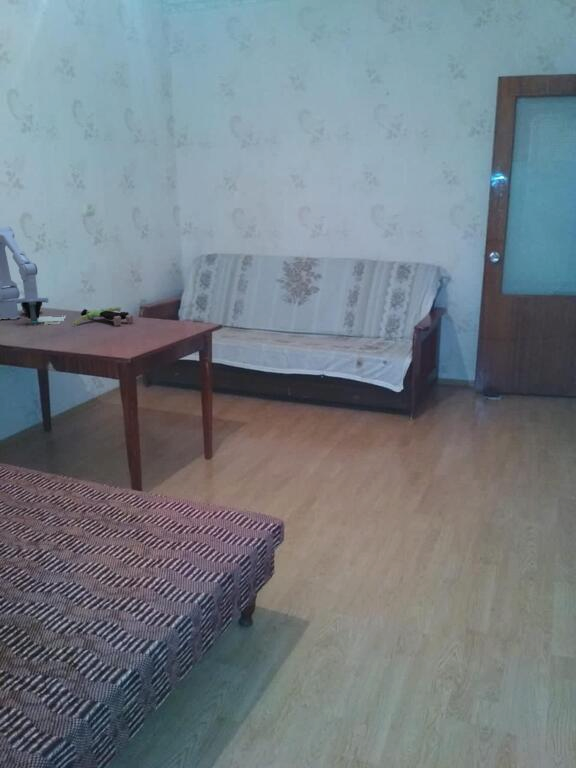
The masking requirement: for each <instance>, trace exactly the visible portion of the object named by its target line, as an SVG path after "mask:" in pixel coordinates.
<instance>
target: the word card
mask: <svg viewBox="0 0 576 768" xmlns="http://www.w3.org/2000/svg"><path fill="white" fill-rule="evenodd" d="M43 323H44V324H43V325H44V326H45V325H46V326H48V324H52V325H60V324H61V321H59V322H43Z"/></svg>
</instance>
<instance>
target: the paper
mask: <svg viewBox="0 0 576 768" xmlns="http://www.w3.org/2000/svg"><path fill="white" fill-rule="evenodd" d="M61 316H62V317H52V315H50V316H49V315H48V316H39V318H38V323H45V322H53V321H60V322H65V320H64V319H66V317H67V315H61ZM63 316H64V317H63Z"/></svg>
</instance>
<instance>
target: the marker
mask: <svg viewBox="0 0 576 768" xmlns="http://www.w3.org/2000/svg"><path fill="white" fill-rule="evenodd" d="M29 312H30V325H31V324H37V325H39V322H38V318H37V310H36V305H35V304H29Z"/></svg>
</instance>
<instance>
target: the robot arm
mask: <svg viewBox="0 0 576 768" xmlns="http://www.w3.org/2000/svg"><path fill="white" fill-rule="evenodd" d="M6 247H7V248H8V250H10V252H11V253H12V259H13V260H14V262H15V263H16V266H18V273H19V275H20V278H21V281H22V284H23V291H24V292H23V294H24V298H20V296H21V291H20V289H19V287H18V284H17V282H15V281H14V280H12V277H11V271H10V268H9V263H8V256H7V252H6ZM36 275H38V267H37V265H36V263H35V262H32V261H31V260H30V259H29V257H28V255H27V254H26V253H25V252H24V251H23V250H21V249H20V248H19V245H18V243H17V242H16V240H15V231H14V229H12V227H11V226H7V227H5V226H4V227H0V316H1V317H0V318H17V317H19V316H18V315H19V310H18V304H21V303H22V306H23V308H24V309H25V311H26V312H25V313H26V315H27V317H28V318H27V319H30V312H29V303H36V310H37V318H39V317H40V311H41V308H42V306H43V303H45V304H46V303H47V304H48V303H49V297H39V295H38V285H37V277H36ZM32 301H36V302H32ZM41 305H42V306H41ZM22 306H21V307H22Z"/></svg>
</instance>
